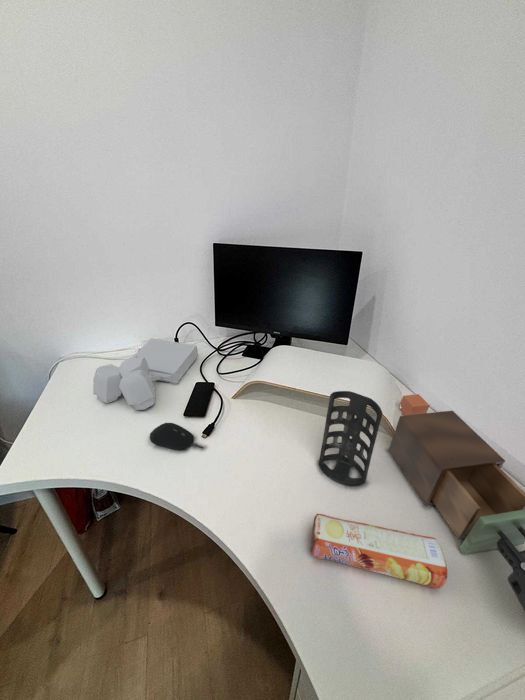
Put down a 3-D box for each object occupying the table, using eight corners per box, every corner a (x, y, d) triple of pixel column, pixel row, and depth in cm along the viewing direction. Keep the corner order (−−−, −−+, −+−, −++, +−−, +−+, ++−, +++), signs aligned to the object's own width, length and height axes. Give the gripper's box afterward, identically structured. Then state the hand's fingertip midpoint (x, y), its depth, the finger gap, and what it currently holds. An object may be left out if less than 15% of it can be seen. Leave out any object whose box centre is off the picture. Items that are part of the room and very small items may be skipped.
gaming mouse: (196, 457, 71) (195, 446, 69) (145, 442, 75) (142, 431, 73) (208, 439, 76) (207, 427, 74) (160, 425, 80) (157, 414, 78)
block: (414, 407, 88) (418, 394, 85) (424, 418, 84) (429, 405, 81) (398, 408, 87) (403, 395, 85) (408, 420, 83) (413, 407, 80)
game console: (200, 355, 109) (194, 326, 101) (151, 420, 84) (139, 388, 77) (153, 347, 113) (145, 319, 106) (94, 407, 89) (77, 375, 81)
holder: (314, 475, 66) (327, 403, 58) (319, 453, 73) (332, 385, 65) (364, 492, 63) (386, 417, 55) (365, 467, 70) (385, 397, 61)
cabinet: (482, 497, 63) (505, 460, 57) (424, 505, 61) (442, 469, 55) (437, 444, 75) (452, 410, 69) (388, 450, 73) (399, 415, 68)
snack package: (308, 561, 52) (312, 541, 48) (312, 524, 57) (315, 504, 54) (439, 596, 48) (453, 577, 44) (429, 553, 53) (441, 532, 50)
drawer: (549, 573, 50) (582, 543, 45) (485, 586, 48) (512, 556, 43) (468, 479, 65) (485, 449, 60) (418, 487, 64) (431, 456, 59)
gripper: (574, 709, 35) (468, 555, 50) (668, 683, 37) (540, 542, 52) (612, 693, 32) (486, 531, 46) (715, 665, 34) (563, 518, 48)
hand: (515, 538), depth 49 cm, fingers closed on drawer, 5 cm apart
